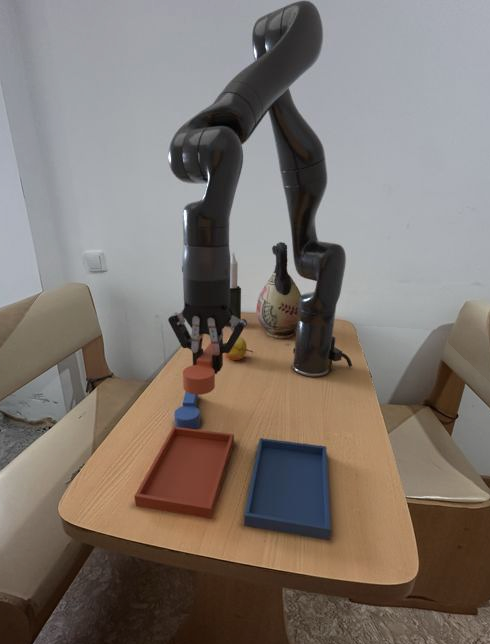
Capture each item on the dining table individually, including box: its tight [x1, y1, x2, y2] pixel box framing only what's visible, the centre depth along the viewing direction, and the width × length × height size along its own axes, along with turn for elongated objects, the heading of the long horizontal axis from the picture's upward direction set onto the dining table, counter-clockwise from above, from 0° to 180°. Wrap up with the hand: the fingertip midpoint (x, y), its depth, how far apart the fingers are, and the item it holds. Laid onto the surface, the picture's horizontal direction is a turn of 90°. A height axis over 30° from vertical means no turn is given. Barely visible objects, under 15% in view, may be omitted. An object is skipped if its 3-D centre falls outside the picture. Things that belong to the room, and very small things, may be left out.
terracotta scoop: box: [182, 342, 216, 396], centre depth 64 cm, size 13×5×4 cm, turn 165°
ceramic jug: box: [255, 241, 302, 340], centre depth 117 cm, size 17×15×30 cm
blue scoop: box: [173, 391, 201, 430], centre depth 81 cm, size 13×5×4 cm, turn 178°
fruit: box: [224, 335, 254, 361], centre depth 105 cm, size 7×7×10 cm
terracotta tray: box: [133, 426, 235, 520], centre depth 65 cm, size 18×12×2 cm
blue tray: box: [243, 437, 332, 541], centre depth 61 cm, size 18×12×2 cm
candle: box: [225, 251, 242, 327], centre depth 127 cm, size 5×5×25 cm
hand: (207, 370), depth 66 cm, fingers closed on terracotta scoop, 2 cm apart
